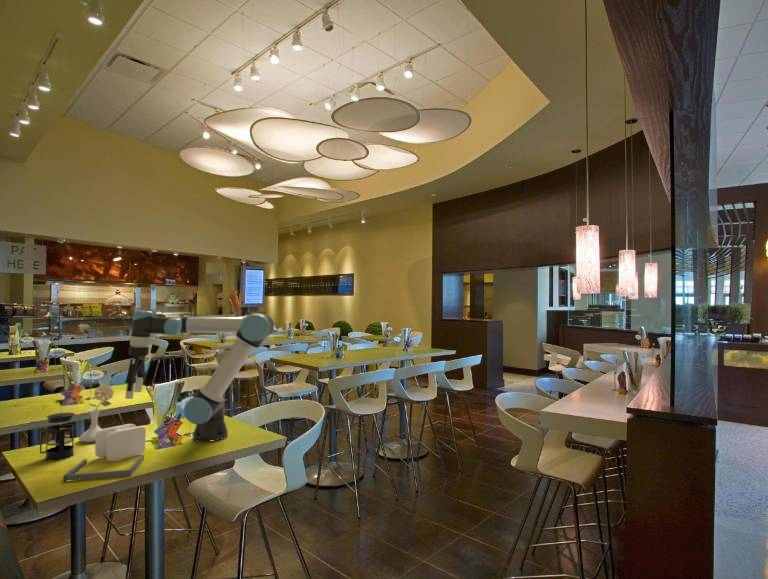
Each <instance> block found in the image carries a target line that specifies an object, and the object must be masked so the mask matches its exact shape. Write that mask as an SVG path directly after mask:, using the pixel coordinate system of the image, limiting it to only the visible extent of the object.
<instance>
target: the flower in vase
mask: <svg viewBox="0 0 768 579" xmlns="http://www.w3.org/2000/svg"><path fill="white" fill-rule="evenodd" d="M114 394H115V390H113V388H112V387H111V386H110V385H108V384H102V385H99V386H98V387H96V388H95V389H94V394H93V396H94V397H95V399H96V401H100V402H99V404H98V405H96V404H92V403H89V402H88V405H89V406H91V407H95V408H93V409H88V410H87V411H88V413H89V414H90V417H91V421H90V422H91V424H90V427H89V428H88V429H87V430H86V431H84V432H82V434H81V435H80V436H79V437H78V440H79V442H83V443H94V442H95V441H96V433H97V432H98V431H99V430H101V429H102V428H101V427H100V426H99V425H98V418H99V417H98V416H99V415H100V414H99V413H100V412H101V410H102V408H99V407H100V405H102V407H107V406H110V405H112V403H111V402H110V401H109V400H110V399H113V396H114Z"/></svg>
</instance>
